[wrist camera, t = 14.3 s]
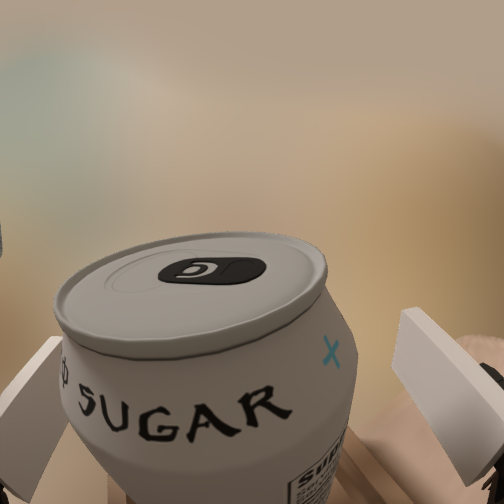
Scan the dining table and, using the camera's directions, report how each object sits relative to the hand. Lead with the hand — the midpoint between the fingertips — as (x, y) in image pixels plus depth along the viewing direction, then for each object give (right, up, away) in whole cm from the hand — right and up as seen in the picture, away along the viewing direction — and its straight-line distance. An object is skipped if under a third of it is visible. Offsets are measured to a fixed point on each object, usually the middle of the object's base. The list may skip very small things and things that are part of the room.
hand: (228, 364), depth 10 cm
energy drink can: (+1, -11, 0) cm, 11 cm away
